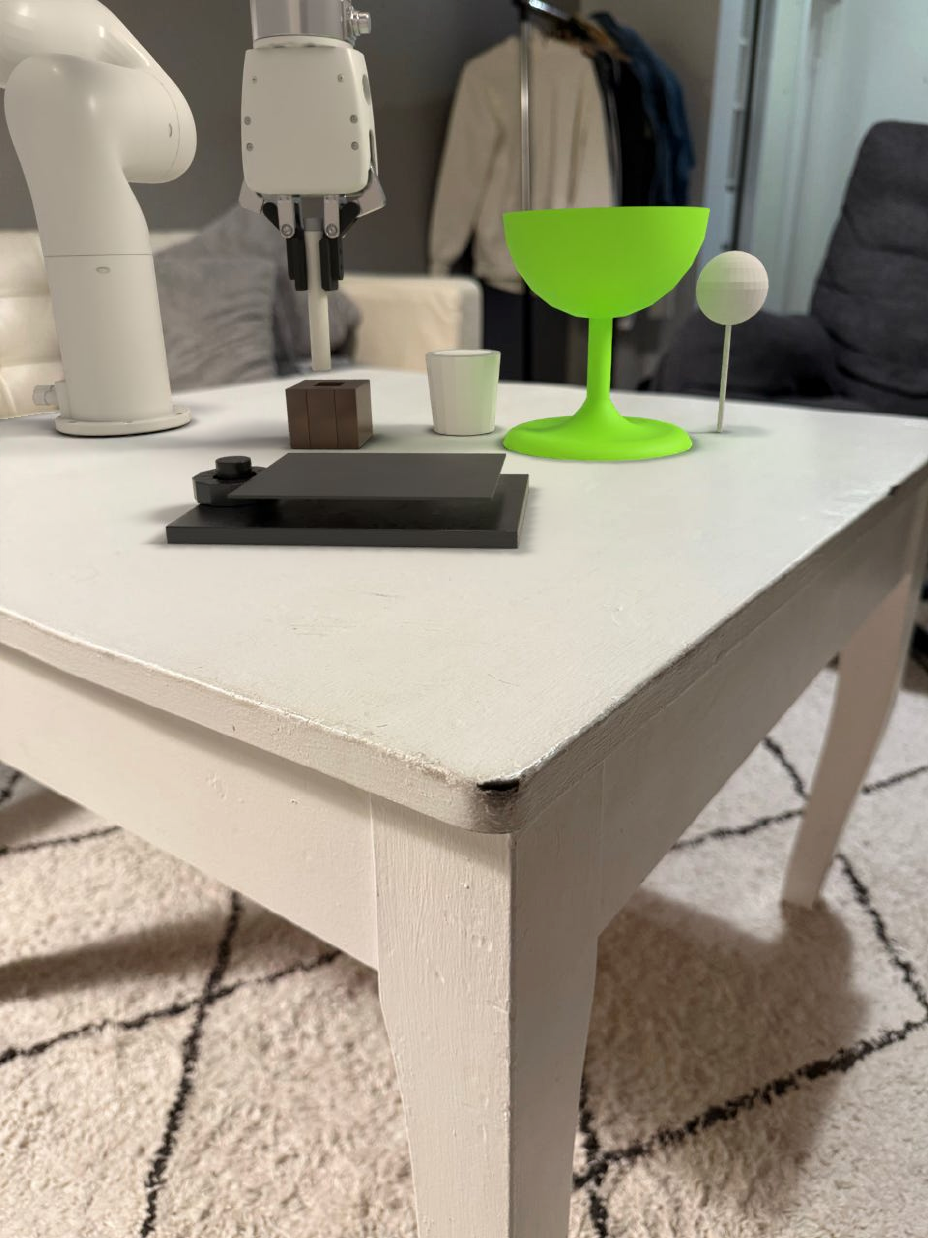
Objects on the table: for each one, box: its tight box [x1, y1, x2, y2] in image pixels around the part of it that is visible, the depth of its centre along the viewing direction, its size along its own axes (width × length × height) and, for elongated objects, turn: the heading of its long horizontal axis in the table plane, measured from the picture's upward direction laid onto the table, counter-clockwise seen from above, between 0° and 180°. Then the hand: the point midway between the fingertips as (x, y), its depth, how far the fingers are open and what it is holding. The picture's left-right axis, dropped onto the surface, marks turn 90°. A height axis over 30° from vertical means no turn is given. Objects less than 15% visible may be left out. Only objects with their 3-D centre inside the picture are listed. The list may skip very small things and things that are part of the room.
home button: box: [214, 455, 253, 480], centre depth 57 cm, size 2×2×1 cm
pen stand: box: [284, 379, 374, 450], centre depth 80 cm, size 6×6×5 cm
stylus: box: [302, 217, 332, 372], centre depth 76 cm, size 2×2×12 cm
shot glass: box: [424, 348, 502, 436], centre depth 84 cm, size 7×7×7 cm
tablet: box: [165, 465, 530, 550], centre depth 57 cm, size 21×14×2 cm
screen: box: [227, 452, 507, 501], centre depth 56 cm, size 15×12×1 cm
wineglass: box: [501, 205, 711, 462], centre depth 75 cm, size 16×16×18 cm
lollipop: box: [695, 250, 769, 433], centre depth 79 cm, size 6×6×15 cm
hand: (317, 288), depth 76 cm, fingers closed on stylus, 1 cm apart
